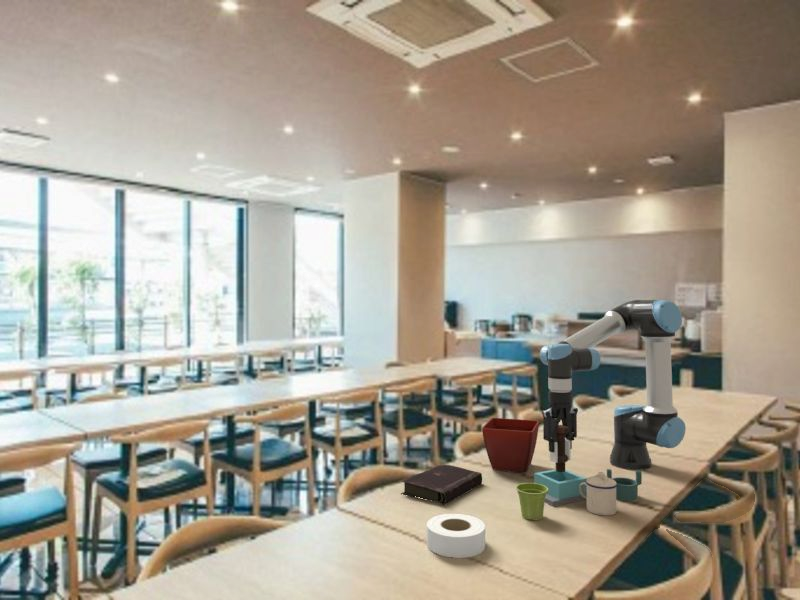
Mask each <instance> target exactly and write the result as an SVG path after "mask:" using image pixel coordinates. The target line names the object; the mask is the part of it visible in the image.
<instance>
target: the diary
mask: <svg viewBox="0 0 800 600" xmlns="http://www.w3.org/2000/svg"><path fill="white" fill-rule="evenodd" d="M400 482H401V483H403V485H404V487H403V488H404V490H403V491H404V492H401V493H400V495H402V494H403V495H402V496H406V495H407V497H410V498H414V497H415V496H416V497H420V498H423V499H427V501H430V500H432V502H434V501H435V502H434V503H440V504H443V506H446V505H447V504H450V503H451V502H453V501H454V500H456V499H458V498H459V496H460V497H461V496H463V495H465V494H466V492H467V493H469V492H470V491H471V489H472V490H473V489H476V488H477V487H479V486H481V485H482V484H483V474H482V472H478V471H474V470H471V469H468V468H467V469H466V468H463V467H459V466H455V465H451V464H444V463H440V464H438V465H436V466H433V467H431V468H429V469H426V470H425V471H422V472H419V473H416V474H412V475H410V476H408V477H406V478H404V479H402V480H400ZM480 484H481V485H480ZM478 485H479V486H478ZM457 497H458V498H457ZM455 498H456V499H455ZM450 501H451V502H450ZM445 504H446V505H445Z"/></svg>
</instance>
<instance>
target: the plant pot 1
mask: <svg viewBox="0 0 800 600" xmlns="http://www.w3.org/2000/svg"><path fill="white" fill-rule="evenodd" d="M539 425H540V421H539V420H533V419H521V418H519V419H517V418H502V417H491V418H489V420H488V421H487V422H486V423H485V424H484V425H483V426H482V427H481V432H482V437H483V442H484V447H485V451H486V454H487V457H488V460H489V463H490V466H491V469H492V470H493V471H501V472H502V471H503V472H509V471H510V472H511V473H520V474H524V473H525V474H526V473H527V472H528V470H529V468H530V466H531V464H532V461H533V458H534V453H535V450H536V445H537V439H538V435H539V434H538V433H539Z"/></svg>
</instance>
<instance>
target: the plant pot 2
mask: <svg viewBox="0 0 800 600" xmlns="http://www.w3.org/2000/svg"><path fill="white" fill-rule="evenodd" d="M515 489H516V491H517V494H518V496H519V497H518V499H519V505H520V512H521V516H522V518H524V519H526V520H533V521H539V520H542V519H543V516H544V509H545V496H546V493H547V492H548V488H547V487H546V486H544V485H541V484H537V483H534V482H522V483H519V484H517V485H516V486H515Z"/></svg>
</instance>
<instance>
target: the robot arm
mask: <svg viewBox="0 0 800 600" xmlns="http://www.w3.org/2000/svg"><path fill="white" fill-rule="evenodd" d="M682 323H683V315H682V312H681V309H680V308H679V306H678V305H677V304H676V303H674V301H671V300H667V299H666V300H664V299H634V300H630V301H627V302H624V303H623V304H620V305H617V306H616V307H614V308H612V309H611V310H609V311H607V312H606V313H605V314H604V316H603V317H601V318H600V319H598V320H596V321H595V322H593V323H591V324H590V325H588V326H586V327H584V328H582V329H581V330H579V331H577V332H575V333H574V334H572V335H570V336H569V337H567V338H565V339H563V340H561V341H560V342H558V343H552V344H547V345H546V344H545V345H544V346H543V347H542V348H541V349H540V351H539V359H540V361H541V363H542V364H543V365H545V366H548V367H547V371H548V373H547V375H548V376H547V377H548V384H547V385H548V387H547V388H548V389H549V390H548V392H547V393H548V396H547V398H548V402H549V406H548V409H546V410H542V411H541V414H542V417H543V422H542V423H543V424H542V425H543V426H542V427H543V434H542V435H543V440H544V441H547V442H548V451H549V455H550V456H549V459H550V461H551V462H553V463H554V464H556V463H557V462H558V453H557V442H555V441H556V436H557V430H558V425H560V422H561V425H564V426H567V427H569V432H567V433H565V454H566V455H567V456H568V461H571V460H572V458H571V454H572V453H571V452H572V451H571V450H572V449H573V446H572V445H573V442H572V441H575V438H577V436H578V430H577V429H578V424H577V423H578V421H577V416H578V411H579V409H578V408H577V407H574V406H572V402H573V392H572V389H573V387H572V386H573V385H572V384H573V383H572V380H573V372H585V371H587V372H590V371H594V370H596V369H599V366H600V365H601V355H600V353H599V351H598V350H596V349H595V348H594V347H595V346H597V345H600V343H602V342H604V341H606V340H607V339H609V338H610V337H612V336H614V335H621V334H623V333H625V332H627V331H629V332H630V331H639V333H640V338H642V340H644V343H645V346H644V349H645V378H646V402H647V403H646V405H643V404H628V405H627V404H624V405H617V406H616V407H615V409H614V415H613V425H614V426H613V429H614V430H613V431H614V432H613V433H614V435H613V437H614V444H613V447H612V449H611V454H610V455H609V463H610V465H612V466H614V467H616V468H621V469H624V470H625V469H626V470H634V471H636V470H641V471H643V470H648V469H651V468H652V459H651V457H650V453H649V451H648V450H649V449H648V447H647V444H651V445H654V446H657V447H660V448H666V449H674V448H676V447H677V446H680V444H681V442H682V441H683V440H684V438H685V435H686V428H687V427H686V424H685V422H684V420H683V419H682V418H681V417H680V416H679V417H678V409H677V408H676V407H674V404H673V374H672V373H673V372H672V348H671V347H672V346H671V342H672V340H673V339H675V337H676V333H677V332H679V330H680V329H681V326H682Z"/></svg>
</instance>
